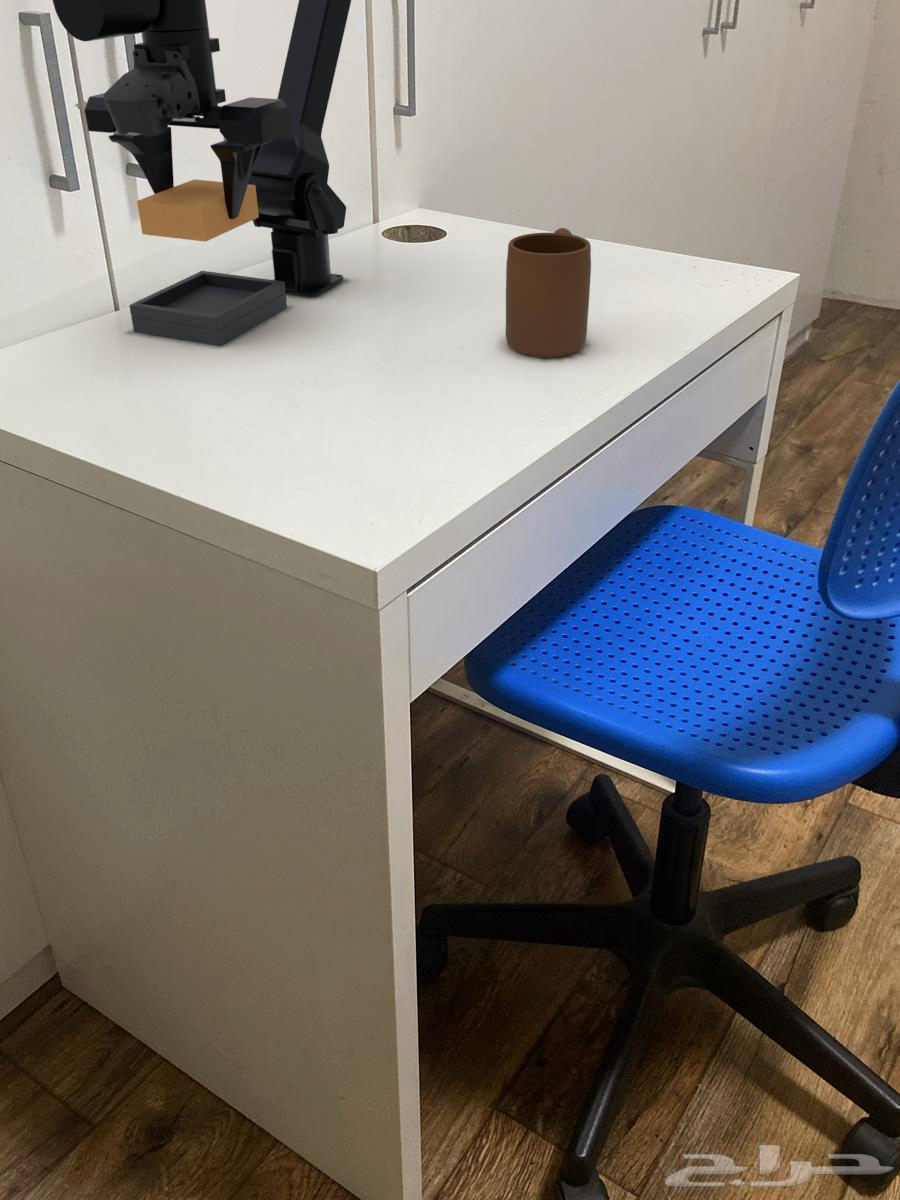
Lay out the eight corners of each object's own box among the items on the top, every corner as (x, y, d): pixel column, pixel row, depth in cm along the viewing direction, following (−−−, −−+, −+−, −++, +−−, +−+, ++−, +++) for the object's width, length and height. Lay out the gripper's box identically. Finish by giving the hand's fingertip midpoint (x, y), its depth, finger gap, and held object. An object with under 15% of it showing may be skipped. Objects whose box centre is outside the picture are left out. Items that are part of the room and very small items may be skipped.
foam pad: (198, 211, 108) (193, 179, 106) (259, 217, 105) (255, 185, 104) (142, 234, 101) (136, 200, 99) (205, 241, 99) (201, 207, 97)
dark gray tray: (205, 295, 116) (201, 270, 115) (287, 307, 113) (284, 281, 111) (133, 332, 107) (128, 304, 105) (220, 345, 103) (216, 318, 102)
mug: (525, 313, 110) (527, 217, 105) (600, 319, 108) (606, 222, 103) (496, 355, 100) (497, 251, 95) (578, 362, 99) (584, 257, 93)
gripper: (24, 35, 91) (63, 227, 100) (213, 43, 85) (238, 247, 93) (109, 21, 100) (139, 198, 108) (287, 27, 93) (303, 215, 102)
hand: (200, 214), depth 103 cm, fingers closed on foam pad, 7 cm apart
